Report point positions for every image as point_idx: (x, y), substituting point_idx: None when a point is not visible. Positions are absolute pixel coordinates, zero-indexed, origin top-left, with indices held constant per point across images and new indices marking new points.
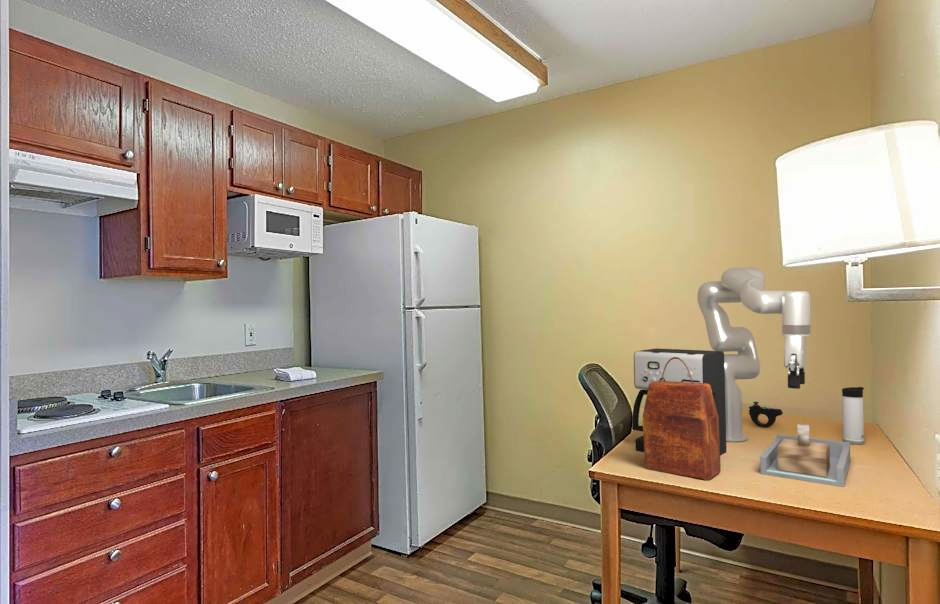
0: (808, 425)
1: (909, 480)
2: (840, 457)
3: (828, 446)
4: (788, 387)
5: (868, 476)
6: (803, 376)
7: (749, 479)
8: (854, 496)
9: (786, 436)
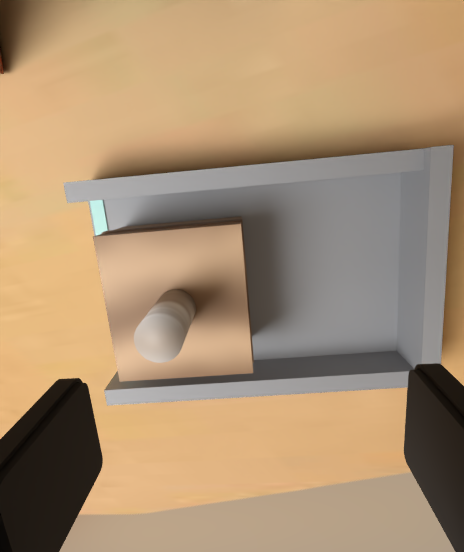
0: (164, 359)
1: (289, 479)
2: (238, 383)
3: (215, 375)
4: (62, 382)
5: (266, 410)
6: (447, 533)
7: (10, 173)
8: None
9: (428, 189)
